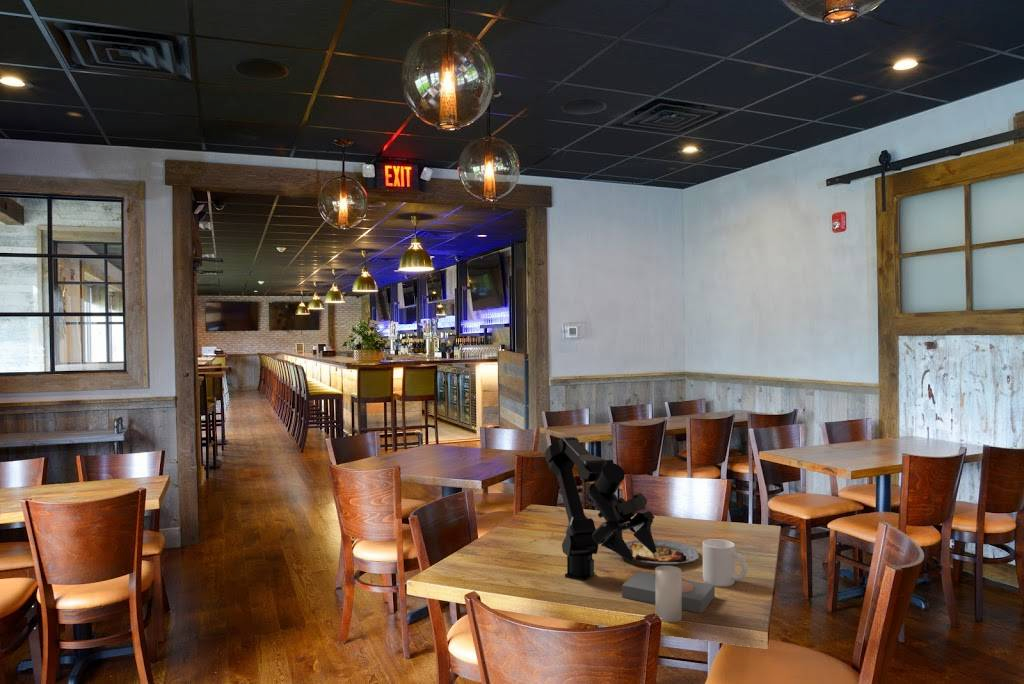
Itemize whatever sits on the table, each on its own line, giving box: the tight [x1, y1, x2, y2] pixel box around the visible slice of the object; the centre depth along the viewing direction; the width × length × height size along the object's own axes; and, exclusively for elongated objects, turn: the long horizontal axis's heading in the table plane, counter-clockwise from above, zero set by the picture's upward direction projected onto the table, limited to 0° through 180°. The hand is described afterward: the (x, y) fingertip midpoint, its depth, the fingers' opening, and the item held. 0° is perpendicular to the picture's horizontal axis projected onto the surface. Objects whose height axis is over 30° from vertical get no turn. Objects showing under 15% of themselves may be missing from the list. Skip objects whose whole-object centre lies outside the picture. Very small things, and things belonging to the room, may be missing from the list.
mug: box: [702, 538, 748, 588], centre depth 180 cm, size 12×8×10 cm
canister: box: [654, 565, 683, 623], centre depth 158 cm, size 6×6×11 cm
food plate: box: [619, 538, 699, 566], centre depth 203 cm, size 25×23×4 cm
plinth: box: [621, 571, 716, 614], centre depth 170 cm, size 20×12×3 cm, turn 59°
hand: (644, 556), depth 163 cm, fingers open, 9 cm apart
